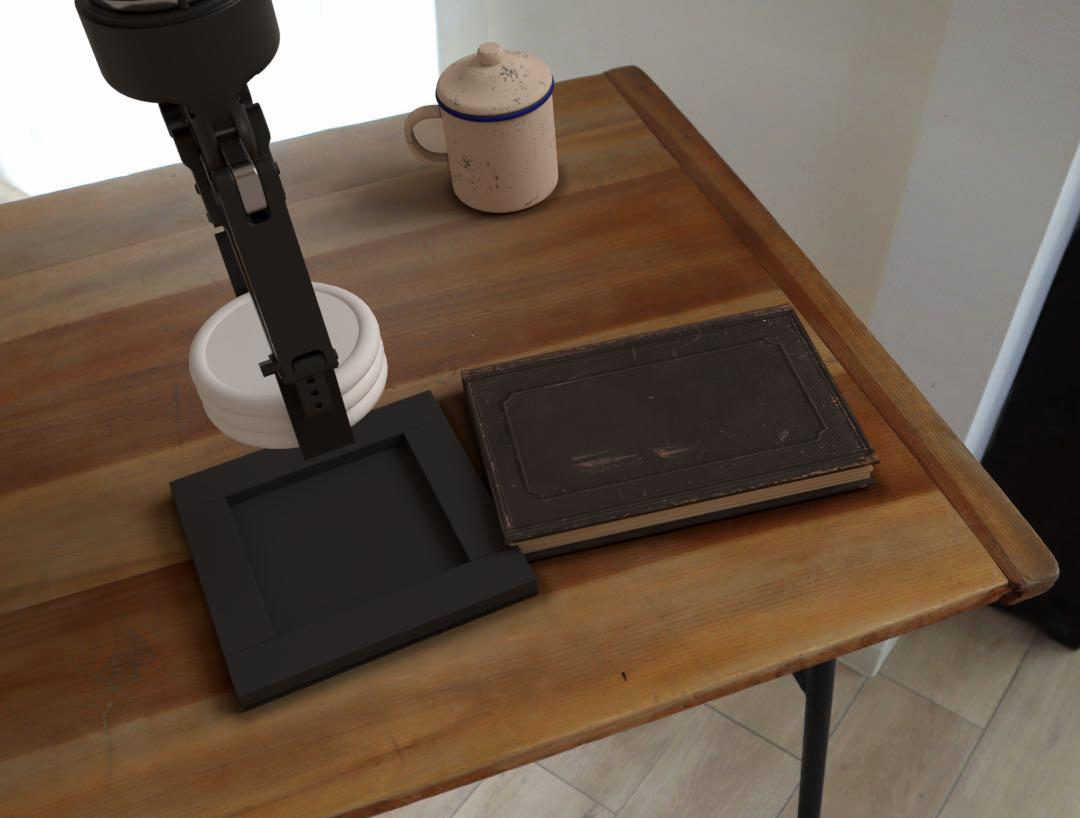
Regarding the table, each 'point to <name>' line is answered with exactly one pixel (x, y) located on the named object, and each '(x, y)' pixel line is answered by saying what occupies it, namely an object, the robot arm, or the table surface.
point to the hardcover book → (662, 431)
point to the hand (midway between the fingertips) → (298, 383)
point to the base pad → (346, 549)
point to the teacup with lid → (494, 129)
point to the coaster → (255, 401)
